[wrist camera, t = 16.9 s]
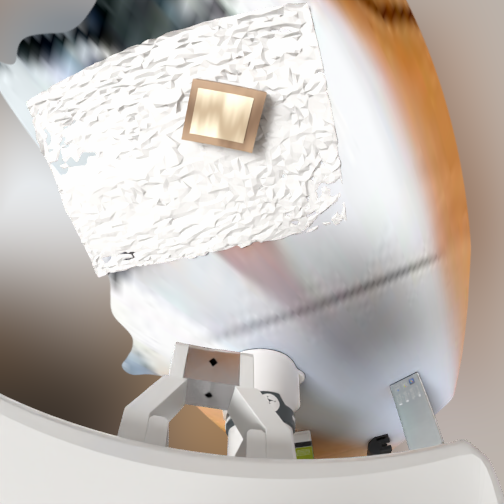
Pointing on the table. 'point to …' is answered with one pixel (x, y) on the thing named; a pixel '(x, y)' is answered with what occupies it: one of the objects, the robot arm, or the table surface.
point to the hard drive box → (416, 413)
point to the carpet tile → (193, 153)
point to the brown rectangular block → (223, 114)
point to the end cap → (379, 446)
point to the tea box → (303, 445)
